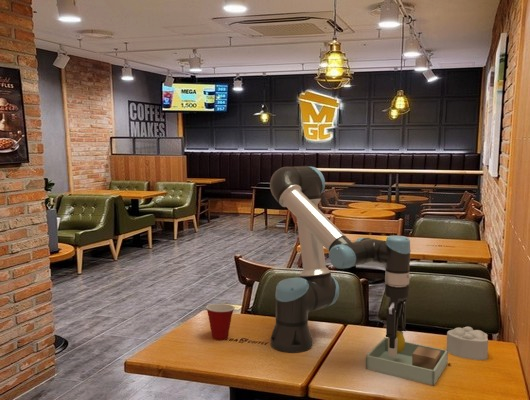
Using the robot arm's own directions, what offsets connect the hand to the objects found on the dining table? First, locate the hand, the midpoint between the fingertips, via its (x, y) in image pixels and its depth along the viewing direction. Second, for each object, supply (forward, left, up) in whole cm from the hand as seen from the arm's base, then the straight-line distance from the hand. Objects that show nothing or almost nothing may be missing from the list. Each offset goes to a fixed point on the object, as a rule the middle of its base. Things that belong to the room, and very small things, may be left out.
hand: (395, 353), depth 162 cm
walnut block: (+10, 0, -3) cm, 10 cm away
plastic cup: (-63, -11, -4) cm, 64 cm away
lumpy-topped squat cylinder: (+18, +22, -4) cm, 29 cm away
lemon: (0, 0, -1) cm, 1 cm away
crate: (+4, 0, -4) cm, 6 cm away
